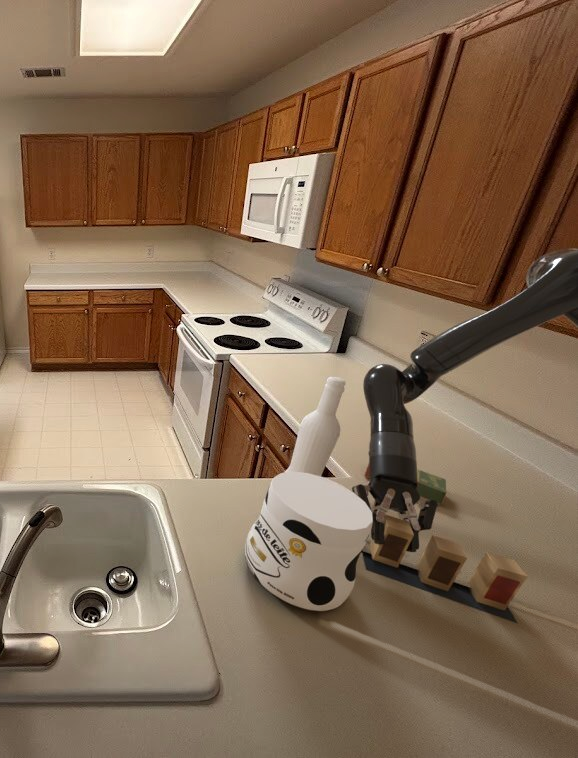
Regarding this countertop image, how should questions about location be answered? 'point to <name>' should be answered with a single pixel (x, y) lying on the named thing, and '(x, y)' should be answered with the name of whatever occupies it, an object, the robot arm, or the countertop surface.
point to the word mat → (412, 578)
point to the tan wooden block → (392, 541)
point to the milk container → (308, 540)
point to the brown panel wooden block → (441, 563)
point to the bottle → (318, 432)
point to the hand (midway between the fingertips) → (395, 547)
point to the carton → (428, 486)
